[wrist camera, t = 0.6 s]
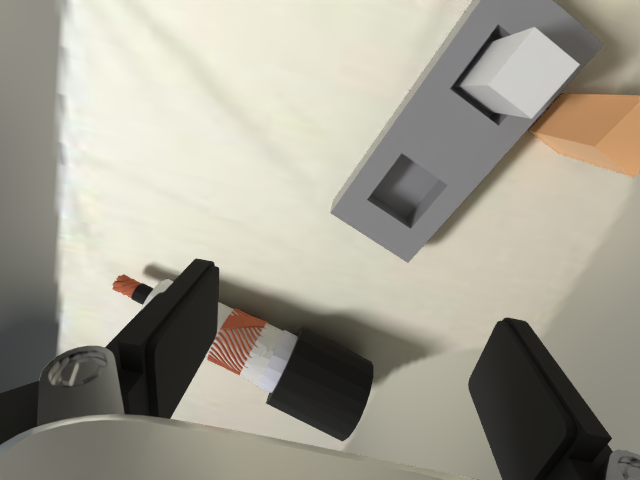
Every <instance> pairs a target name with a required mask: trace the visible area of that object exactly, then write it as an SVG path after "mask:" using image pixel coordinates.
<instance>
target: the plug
mask: <svg viewBox="0 0 640 480" xmlns="http://www.w3.org/2000/svg"><path fill="white" fill-rule="evenodd" d="M529 131H530V132H531V133H532V134H534V135H535V136H536V137H538V138H539V139H540V140H541V141H543V142H544V143H545V144H547V145H548V146H549V147H551V148H552V149H553V150H554V151H556V152H557V153H558V154H562V155H565V156H568V157H571V158H574V159H577V160H580V161H583V162H586V163H590V164H593V165H596V166H599V167H602V168H605V169H608V170H611V171H614V172H618V173H621V174H624V175H627V176H630V177H633V178H634V177H635V176H636V175H637V174H638V173H639V172H640V95H605V94H564V93H562V94H561V95H560V96H559V98H558V99H557V100H556V101H555V102H554V103H553V104H552V105H551V106H550V108H549V109H548V110H547V111H546V112H545V113H544V114H543V115H542V116H541V118H540V119H539V120H538V121H537V122H536V123H535V124H534V125H533V127H532V128H531V129H530V130H529Z"/></svg>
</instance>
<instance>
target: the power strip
mask: <svg viewBox="0 0 640 480" xmlns="http://www.w3.org/2000/svg"><path fill="white" fill-rule="evenodd" d="M603 45H604V43H602V42H601V41H600V40H599V39H598V38H597V37H595V36H594V35H593V34H592V33H591V32H590V31H588V30H587V29H586V28H585V27H584V26H583V25H581V24H580V23H579V22H578V21H577V20H576V19H574V18H573V17H572V16H571V15H570V14H569V13H568V12H566V11H565V10H564V9H563V8H562V7H561V6H559V5H558V4H557V3H556V2H555V1H554V0H473V1H472V2H471V4H470V5H469V7H468V8H467V9H466V11H465V12H464V14H463V15H462V17H461V18H460V19H459V21H458V22H457V24H456V25H455V27H454V28H453V29H452V31H451V32H450V34H449V35H448V37H447V38H446V40H445V41H444V42H443V44H442V45H441V47H440V48H439V50H438V51H437V52H436V54H435V55H434V57H433V58H432V60H431V61H430V62H429V64H428V65H427V67H426V68H425V70H424V71H423V73H422V74H421V75H420V77H419V78H418V80H417V81H416V83H415V84H414V85H413V87H412V88H411V90H410V91H409V93H408V94H407V95H406V97H405V98H404V100H403V101H402V103H401V104H400V106H399V107H398V108H397V110H396V111H395V113H394V114H393V116H392V117H391V118H390V120H389V121H388V123H387V124H386V126H385V127H384V128H383V130H382V131H381V133H380V134H379V136H378V137H377V139H376V140H375V141H374V143H373V144H372V146H371V147H370V149H369V150H368V151H367V153H366V154H365V156H364V157H363V159H362V160H361V161H360V163H359V164H358V166H357V167H356V169H355V170H354V172H353V173H352V174H351V176H350V177H349V179H348V180H347V182H346V183H345V184H344V186H343V187H342V189H341V190H340V192H339V193H338V194H337V196H336V197H335V199H334V200H333V203H332V208H331V214H333V215H334V216H336V217H338V218H339V219H341V220H342V221H344V222H345V223H347V224H348V225H350V226H352V227H353V228H355V229H356V230H358V231H359V232H361V233H362V234H364V235H366V236H367V237H369V238H370V239H372V240H373V241H375V242H376V243H378V244H380V245H381V246H383V247H384V248H386V249H387V250H389V251H390V252H392V253H394V254H395V255H397V256H398V257H400V258H401V259H403V260H404V261H406V262H409V261H410V260H411V259H412V258H413V257H414V256H415V254H416V253H417V252H418V251H419V250H420V249H421V248H422V247H423V246H424V244H425V243H426V242H427V241H428V240H429V239H430V238H431V237H432V236H433V234H434V233H435V232H436V231H437V230H438V229H439V228H440V227H441V225H442V224H443V223H444V222H445V221H446V220H447V219H448V218H449V217H450V215H451V214H452V213H453V212H454V211H455V210H456V209H457V208H458V206H459V205H460V204H461V203H462V202H463V201H464V200H465V199H466V198H467V196H468V195H469V194H470V193H471V192H472V191H473V190H474V189H475V188H476V186H477V185H478V184H479V183H480V182H481V181H482V180H483V179H484V177H485V176H486V175H487V174H488V173H489V172H490V171H491V170H492V169H493V167H494V166H495V165H496V164H497V163H498V162H499V161H500V160H501V158H502V157H503V156H504V155H505V154H506V153H507V152H508V151H509V150H510V148H511V147H512V146H513V145H514V144H515V143H516V142H517V141H518V140H519V138H520V137H521V136H522V135H523V134H524V133H525V132H526V131H527V129H528V128H529V127H530V126H531V125H532V124H533V123H534V122H535V121H536V119H537V118H538V117H539V116H540V115H541V114H542V113H543V112H544V111H545V109H546V108H547V107H548V106H549V105H550V104H551V103H552V102H553V100H554V99H555V98H556V97H557V96H558V95H559V94H560V93H561V92H562V90H563V89H564V88H565V87H566V86H567V85H568V84H569V83H570V81H571V80H572V79H573V78H574V77H575V76H576V75H577V74H578V73H579V71H580V70H581V69H582V68H583V67H584V66H585V65H586V64H587V63H588V61H589V60H590V59H591V58H592V57H593V56H594V55H595V54H596V52H597V51H598V50H599V49H600V48H601V47H602V46H603Z"/></svg>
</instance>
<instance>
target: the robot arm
mask: <svg viewBox="0 0 640 480" xmlns="http://www.w3.org/2000/svg"><path fill="white" fill-rule="evenodd" d="M218 294H219V268H218V267H215V265H214V262H212V261H207V260H202V259H195V260H194V261H193V262H192V263H191V264H190V265H189V266H188V267H187V268H186V269H185V270H184V271H183V272H182V273H181V274H180V275H179V276H178V278H177V279H176V280H175V281H174V282H173V283H172V284H171V285H170V286H169V287H168V288H167V289H166V290H165V291H164V292H160V293H158V294H157V295H156V296H155V297H154V298H153V299H152V300H151V301H150V302H149V303H148V304H147V305H146V306H145V307H144V308H143V309H142V310H141V311H140V312H139V313H138V314H137V315H136V316H135V317H134V318H133V319H132V320H131V321H130V322H129V323H128V324H127V325H126V326H125V327H124V328H123V329H122V331H121V332H120V333H119V334H118V335H117V336H116V337H115V338H114V339H113V340H112V341H111V342H110V343H109V344H108V345H107V346H106V347H105V348H104V347H101V346H83V347H78V348H75V349H72V350H69V351H66V352H64V353H62V354H61V355H59V356H57V357H55V358H54V359H53V360H52V361H50V362H49V363H48V364H47V365H46V367H45V368H44V369H43V370H42V372H41V376H40V379H39V381H37V382H34V383H30V384H27V385H25V386H21V387H18V388H15V389H12V390H9V391H6V392H3V393H0V480H478V479H474V478H469V477H464V476H459V475H455V474H450V473H445V472H440V471H435V470H430V469H425V468H420V467H416V466H410V465H406V464H401V463H396V462H391V461H386V460H381V459H377V458H372V457H367V456H362V455H357V454H352V453H347V452H342V451H337V450H332V449H327V448H322V447H317V446H312V445H307V444H302V443H297V442H291V441H286V440H281V439H276V438H271V437H266V436H261V435H256V434H251V433H246V432H241V431H235V430H230V429H225V428H219V427H214V426H208V425H202V424H197V423H191V422H186V421H180V420H174V419H170V418H171V416H172V415H173V413H174V411H175V409H176V407H177V406H178V404H179V402H180V400H181V399H182V397H183V395H184V393H185V391H186V390H187V388H188V386H189V384H190V383H191V381H192V379H193V377H194V376H195V374H196V372H197V370H198V368H199V367H200V365H201V363H202V361H203V360H204V358H205V356H206V354H207V352H208V351H209V349H210V347H211V345H212V344H213V342H214V340H215V337H216V334H217V326H218ZM468 385H469V391H470V394H471V397H472V399H473V402H474V405H475V407H476V410H477V413H478V415H479V418H480V421H481V424H482V426H483V429H484V432H485V434H486V437H487V440H488V442H489V445H490V448H491V450H492V453H493V456H494V458H495V460H496V464H497V466H498V469H499V472H500V474H501V477H502V480H640V455H638V454H635V453H632V452H629V451H626V450H616V451H612V450H611V448H610V447H609V446H608V443H609V441H610V440H611V439H612V438H611V436H610V435H609V434H608V432H607V431H606V430H605V428H604V427H603V425H602V424H601V423H600V421H599V420H598V419H597V417H596V416H595V415H594V413H593V412H592V411H591V409H590V408H589V406H588V405H587V404H586V402H585V401H584V399H583V398H582V397H581V395H580V394H579V393H578V391H577V390H576V389H575V387H574V386H573V385H572V383H571V382H570V380H569V379H568V378H567V376H566V375H565V373H564V372H563V371H562V369H561V368H560V367H559V365H558V364H557V363H556V361H555V360H554V359H553V357H552V356H551V354H550V353H549V352H548V350H547V349H546V347H545V346H544V345H543V343H542V342H541V341H540V339H539V338H538V337H537V335H536V334H535V332H534V331H533V330H532V328H531V327H530V326H529V324H528V323H527V322H526V321H522V320H517V319H512V318H504V319H503V320H502V321H498V322H497V324H496V325H495V327H494V329H493V332H492V334H491V336H490V338H489V340H488V342H487V344H486V346H485V348H484V350H483V352H482V354H481V356H480V358H479V360H478V362H477V364H476V367H475V369H474V370H473V373H472V375H471V377H470V379H469V384H468Z"/></svg>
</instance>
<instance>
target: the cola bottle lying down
mask: <svg viewBox="0 0 640 480" xmlns="http://www.w3.org/2000/svg"><path fill="white" fill-rule="evenodd" d="M172 283H173V281H171V280H169V279H166V280H163V281H161V282H160V283H159V284H158V285H157V286H156V287H155V288H154V289H153V288H151V287H149V286H147V285H145V284H143V283H142V284H141V283H140V282H137V281H135V280H134V279H131V278H129V277H128V276H126V275H122V276H118V278H117V281H115V282H114V283H113V286H114V287H113V290H115V291H117V292H121V293H122V294H124V295H127V296H128V297H130V298H132V300H134V301H136V302H138V303H140V304H142V305H143V306H142V308H141V310H142V309H143V308H144V307H145V306H146V305H147V304H148V303H149V302H150V301H151V300H152V299H153V298H154V297H155V296H156V295H157V294H158V293H160V292H164V291H165V290H166V289H167V288H168V287H169V286H170V285H171V284H172ZM206 357H208V359H207V360H209V361H211V362H213V363H215V364H218V365H220V366H222V367H224V368H226V369H228V370H230V371H232V372H234V373H236V374H238V375H240V376H241V377H243V378H245V379H247V380H249V381H251V382H253V383H255V384H257V386H258V387H260V388H262V389H264V390H266V391H268V392H270V393H269V396H268V399H267V402H266V403H267V404H269V405H271V406H273V407H275V408H277V409H279V410H281V411H283V412H285V413H287V414H289V415H291V416H293V417H295V418H297V419H299V420H301V421H303V422H305V423H307V424H309V425H311V426H313V427H315V428H317V429H319V430H321V431H323V432H325V433H327V434H329V435H331V436H333V437H335V438H337V439H339V440H341V441H344V440H345V439H347V438H348V437H349V436H350V435H351V433H352V432H353V431H354V429H355V428H356V426H357V424H358V422H359V420H360V418H361V416H362V414H363V411H364V409H365V406H366V404H367V400H368V397H369V394H370V390H371V385H372V380H373V364H372V362H371V361H369V360H367V359H365V358H363V357H361V356H359V355H357V354H355V353H353V352H351V351H349V350H346V349H344V348H342V347H340V346H338V345H336V344H334V343H332V342H330V341H328V340H326V339H324V338H322V337H320V336H318V335H316V334H314V333H312V332H310V331H308V330H306V329H304V328H301V329H300V330H299V332H298V333H297V335H294V334H292V333H290V332H288V331H286V330H284V331H282V330H280V329H278V328H276V327H274V326H272V325H270V324H268V323H267V321H264V320H261V319H259V318H255V317H253V316H251V315H249V314H247V313H245V312H243V311H241V310H239V309H237V308H235V309H232V308H230V307H228V306H226V305H224V304H222V303H220V302H218V326H217V334H216V337H215V340H214V342H213V344H212V345H211V347H210V349H209V351H208V352H207V354H206Z"/></svg>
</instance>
